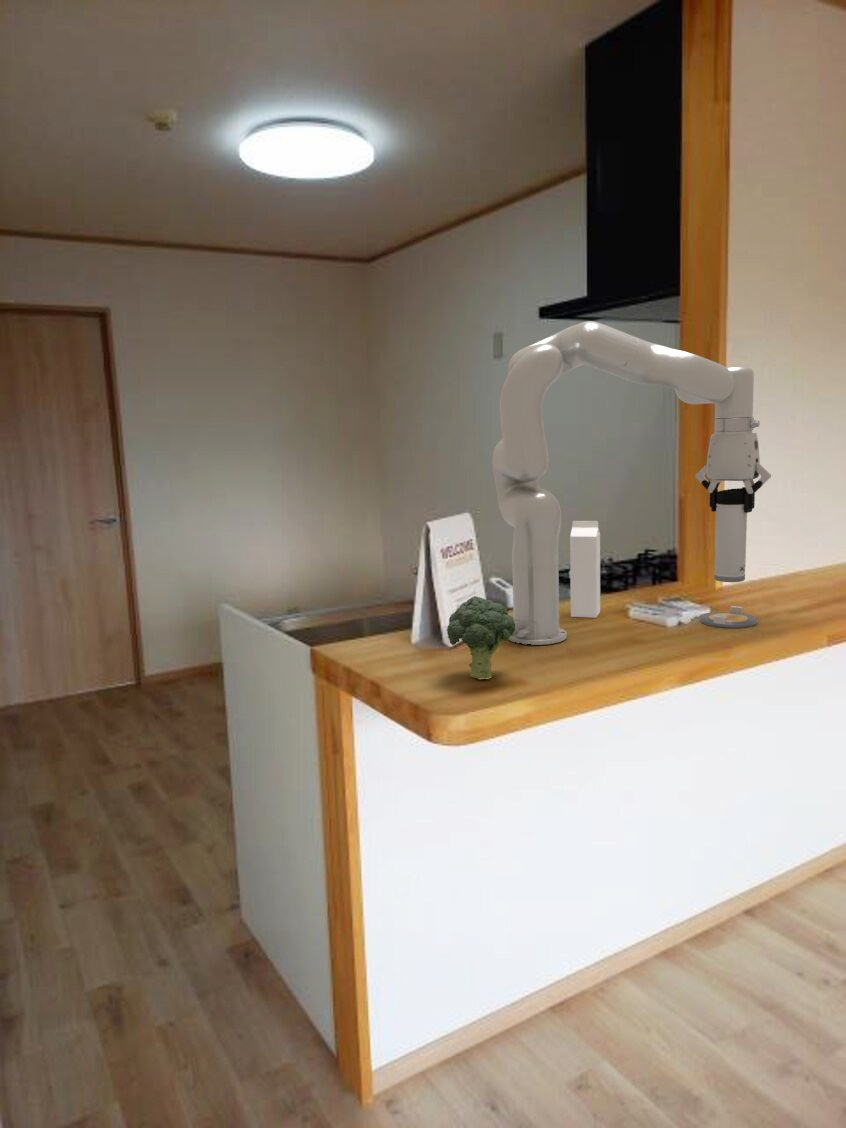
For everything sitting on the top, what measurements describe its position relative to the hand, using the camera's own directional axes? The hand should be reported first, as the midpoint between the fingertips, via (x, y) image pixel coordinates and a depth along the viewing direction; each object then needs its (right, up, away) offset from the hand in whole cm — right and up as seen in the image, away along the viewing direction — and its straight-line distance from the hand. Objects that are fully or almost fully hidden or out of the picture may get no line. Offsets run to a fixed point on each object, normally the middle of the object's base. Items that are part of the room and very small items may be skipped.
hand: (731, 510), depth 180 cm
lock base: (+1, -24, +4) cm, 24 cm away
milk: (-28, -23, +16) cm, 40 cm away
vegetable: (-56, -32, -29) cm, 71 cm away
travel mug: (+1, -15, +3) cm, 15 cm away
